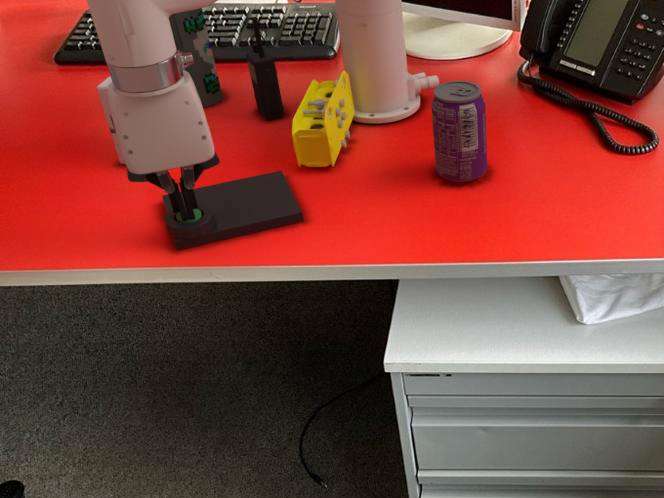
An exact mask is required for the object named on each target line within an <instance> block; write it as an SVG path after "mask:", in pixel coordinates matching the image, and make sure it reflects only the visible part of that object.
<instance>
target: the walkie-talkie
mask: <svg viewBox="0 0 664 498" xmlns="http://www.w3.org/2000/svg"><path fill="white" fill-rule="evenodd" d="M251 23H252V27H253V32H254V37H255V43H252V44H251V47H252V50H249V51H247V53H246V54H245V57H246V60H247V66H248V70H249V76H250V79H251V85H252V89H253V94H254V99H255V104H256V108H257V112H258V113H259V114H260V115H261V116H262V117H263V119H265V121H271V120H272V121H273V120H275V119H280V118H284V116H285V110H284V109H285V108H284V103H283V99H282V93H281V88H280V83H279V78H278V71H277V66H276V62H275V57H274V56H273V55H272V54H270V52H269V51H268V50H267V49H265V48H264V45H263V39H262V35H261V30H260V26H259V19H258V18H257V17H256V16H255V17H252V18H251Z"/></svg>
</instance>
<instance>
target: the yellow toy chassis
mask: <svg viewBox="0 0 664 498" xmlns="http://www.w3.org/2000/svg"><path fill="white" fill-rule="evenodd" d="M305 92H306V93H305V94H304V96H303V98H302V100H301V102H300V104H299V106H298V108H297V110H296V112H295V114H294V116H293V118H292V123H291V124H292V125H291V138H292V142H293V150H294V152H295V157H296V160H297V161H296V162H297V166H298V167H299V168H301V166H302V165H303V166H305V167H307V168H326V167H329V166H330V165H331V167H335V164H336V161H337V159H338V156H339V154H340V151H341V149H346V148H347V140H349V139H351V131H350V130H349V129H350V126H351V124H352V122H353V120H352V119H353V117H354V114H355V110H354V104H353V97H352V92H351V86H350V80H349V75H348V74H347V73H346V72H345V70H342V71H341V74H340V75H339V76H337V78H336V80H323V81H317V79H312V80H311V82H310V84H309V86H308V89H307V90H306V91H305ZM346 139H347V140H346Z"/></svg>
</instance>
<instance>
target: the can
mask: <svg viewBox="0 0 664 498" xmlns="http://www.w3.org/2000/svg"><path fill="white" fill-rule="evenodd" d="M169 21H170V25H171V29H172V33H173V37H174V41H175V45H176V49H177V50H179V51H180V53H182V52H184V53H190V52H191V54H192V57H193V61H194V65H190V66H188V67H185V71H187V72H188V73H189V74H190V76H191V78H192V80H193V82H194V85H195V87H196V89H197V92H198V95H199V97H200V100H201V103H202V106H203V108H207V107H212V106H214V105H217V104H218V103H220V102H222V100H223V99H224V95H223V91H222V88H221V87H222V86H221V83H220V79H219V78H220V77H219V75H218V70H217V66H216V61H215V56H214V54H213V50H212V44H211V41H210V40H211V39H210V37H209V32H208V28H207V23H206V20H205V16H204V12H203V8H200V9H196V10H191V11H185V12H180V13H176V14H172V15H170V17H169Z"/></svg>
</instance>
